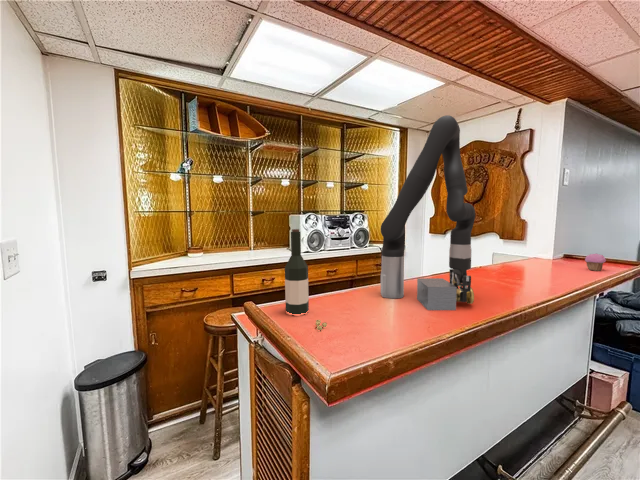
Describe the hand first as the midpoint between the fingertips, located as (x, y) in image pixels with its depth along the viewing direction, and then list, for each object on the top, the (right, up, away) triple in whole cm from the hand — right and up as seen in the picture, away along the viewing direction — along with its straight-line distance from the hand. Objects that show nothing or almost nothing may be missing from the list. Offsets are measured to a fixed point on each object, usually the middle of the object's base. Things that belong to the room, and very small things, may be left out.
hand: (459, 299), depth 113 cm
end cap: (-2, -2, 0) cm, 3 cm away
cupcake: (+107, +4, +60) cm, 123 cm away
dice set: (-53, -6, -21) cm, 58 cm away
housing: (-9, -2, +1) cm, 9 cm away
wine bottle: (-61, -4, -6) cm, 62 cm away
